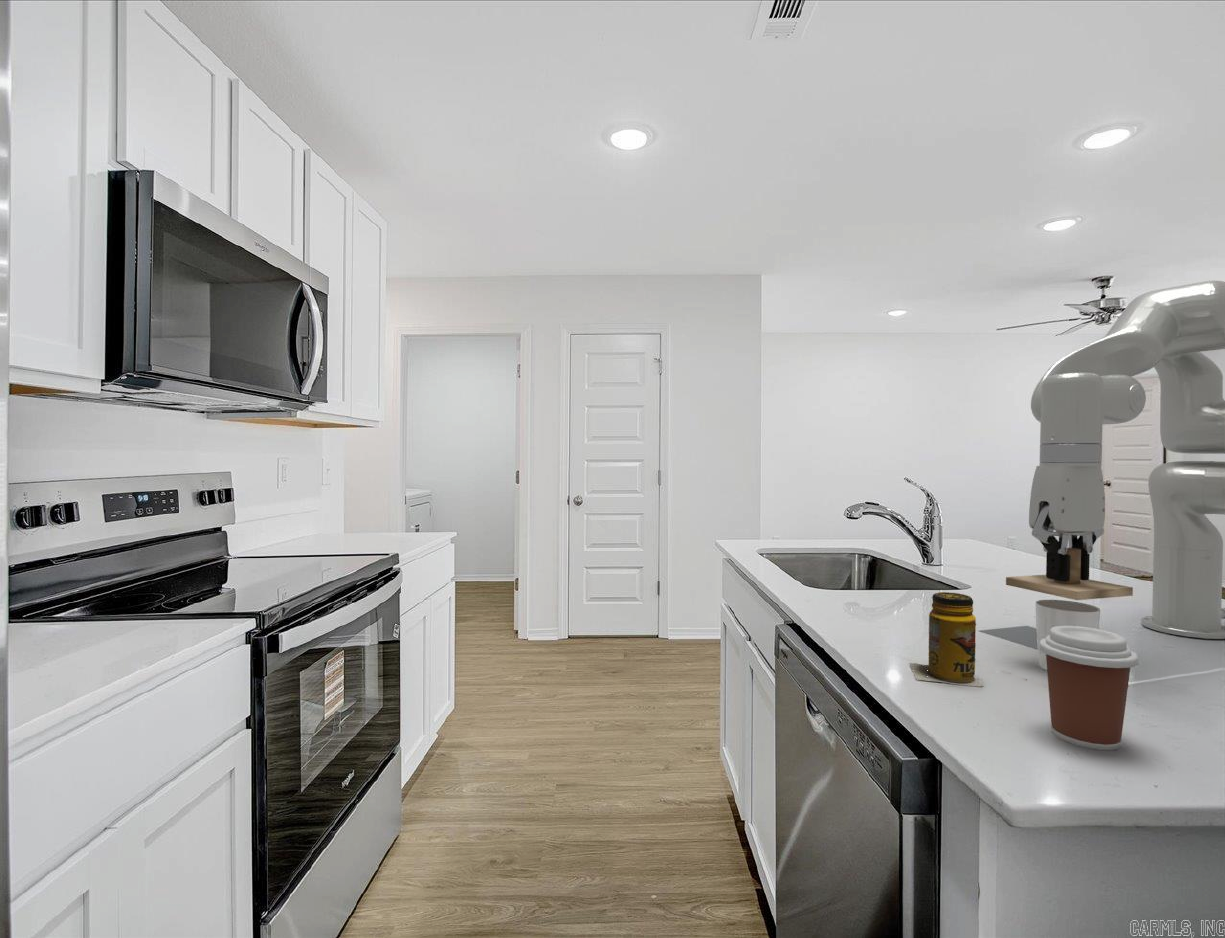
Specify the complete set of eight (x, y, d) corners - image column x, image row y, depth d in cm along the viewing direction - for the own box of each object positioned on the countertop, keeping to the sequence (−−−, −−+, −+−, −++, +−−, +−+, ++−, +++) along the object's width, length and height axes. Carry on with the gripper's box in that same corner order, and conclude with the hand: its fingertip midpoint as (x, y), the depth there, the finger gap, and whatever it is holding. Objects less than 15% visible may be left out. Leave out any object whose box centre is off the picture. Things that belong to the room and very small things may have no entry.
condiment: (983, 687, 88) (984, 602, 87) (916, 681, 90) (917, 597, 90) (970, 670, 95) (971, 591, 94) (909, 665, 97) (910, 587, 97)
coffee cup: (1046, 746, 70) (1048, 639, 69) (1029, 715, 78) (1031, 619, 78) (1150, 763, 66) (1152, 649, 66) (1120, 728, 74) (1123, 628, 74)
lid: (1057, 581, 101) (1058, 542, 101) (1132, 595, 90) (1133, 552, 90) (1005, 584, 98) (1006, 545, 98) (1077, 600, 87) (1078, 555, 87)
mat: (1026, 627, 119) (1026, 625, 119) (1092, 646, 107) (1092, 643, 107) (977, 632, 115) (977, 630, 115) (1039, 652, 103) (1040, 650, 103)
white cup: (1110, 682, 90) (1112, 613, 89) (1049, 678, 91) (1050, 610, 91) (1081, 665, 97) (1082, 600, 97) (1025, 661, 99) (1026, 598, 99)
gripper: (1084, 457, 100) (1081, 572, 100) (1005, 456, 95) (1003, 577, 95) (1136, 457, 93) (1133, 581, 93) (1053, 456, 88) (1051, 587, 88)
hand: (1067, 578), depth 94 cm, fingers closed on lid, 3 cm apart
